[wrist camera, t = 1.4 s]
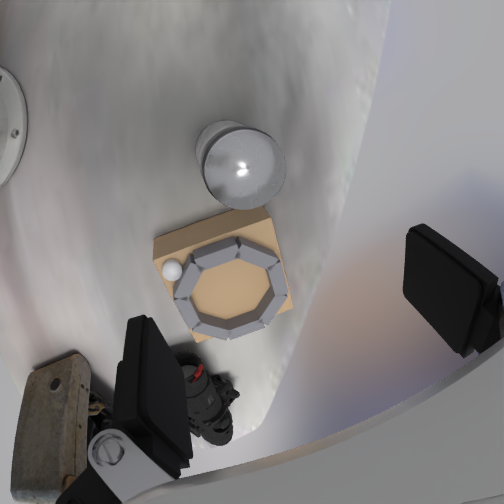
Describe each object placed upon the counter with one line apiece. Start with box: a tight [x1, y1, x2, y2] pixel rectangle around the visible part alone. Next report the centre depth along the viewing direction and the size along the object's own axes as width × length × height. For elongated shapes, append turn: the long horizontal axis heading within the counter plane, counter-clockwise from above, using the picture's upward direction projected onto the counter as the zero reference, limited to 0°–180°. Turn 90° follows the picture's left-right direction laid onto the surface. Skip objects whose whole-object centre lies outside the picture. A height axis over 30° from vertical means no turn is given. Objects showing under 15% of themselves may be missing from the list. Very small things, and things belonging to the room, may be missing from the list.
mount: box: [153, 206, 293, 343], centre depth 28 cm, size 10×10×6 cm
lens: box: [196, 120, 286, 210], centre depth 22 cm, size 5×5×8 cm
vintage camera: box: [11, 354, 113, 504], centre depth 27 cm, size 10×16×20 cm, turn 21°
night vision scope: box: [174, 352, 240, 446], centre depth 35 cm, size 8×18×10 cm
